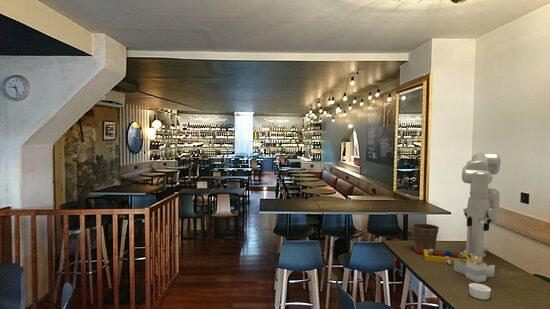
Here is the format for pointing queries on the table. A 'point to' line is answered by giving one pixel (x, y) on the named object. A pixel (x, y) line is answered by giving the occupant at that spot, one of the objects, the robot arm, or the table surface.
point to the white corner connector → (474, 270)
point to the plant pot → (425, 236)
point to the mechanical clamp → (446, 255)
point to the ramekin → (479, 291)
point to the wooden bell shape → (476, 259)
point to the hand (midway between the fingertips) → (477, 228)
